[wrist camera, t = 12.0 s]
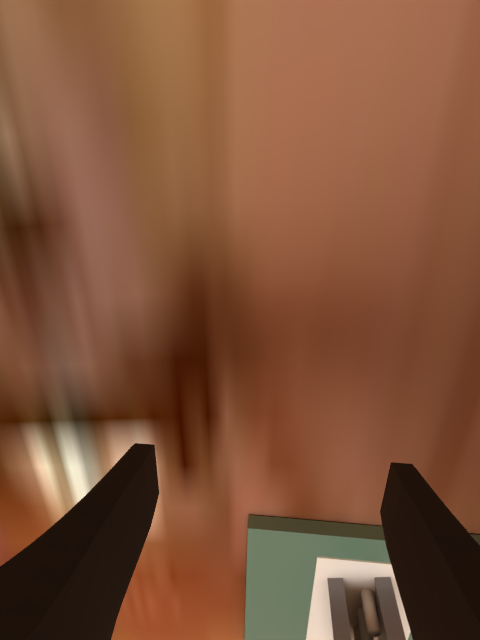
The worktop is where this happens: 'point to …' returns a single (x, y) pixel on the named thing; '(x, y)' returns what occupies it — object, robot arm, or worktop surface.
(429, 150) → the worktop surface
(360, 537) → the board
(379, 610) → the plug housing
